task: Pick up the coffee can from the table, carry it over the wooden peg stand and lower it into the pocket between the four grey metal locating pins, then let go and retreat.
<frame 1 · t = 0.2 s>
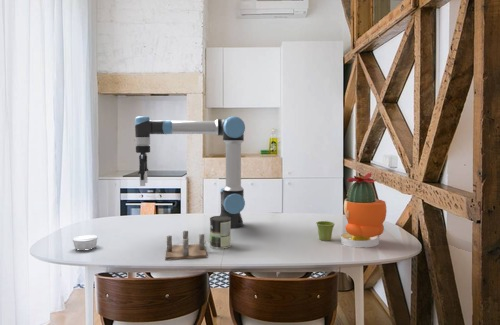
hand: (143, 184, 212), 28 cm above the table, tool pointing down, fingers open, 13 cm apart
coffee can: (220, 246, 193), on the table
wooden peg stand: (185, 252, 182), on the table
ramekin: (85, 248, 190), on the table
plant pot: (325, 239, 204), on the table
potted cactus: (364, 243, 197), on the table
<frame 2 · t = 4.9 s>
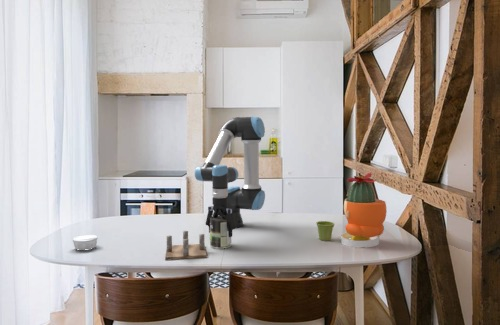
hand: (220, 241, 193), 2 cm above the table, tool pointing down, fingers closed on coffee can, 10 cm apart
coffee can: (220, 246, 193), on the table, touching gripper
everything else where it was.
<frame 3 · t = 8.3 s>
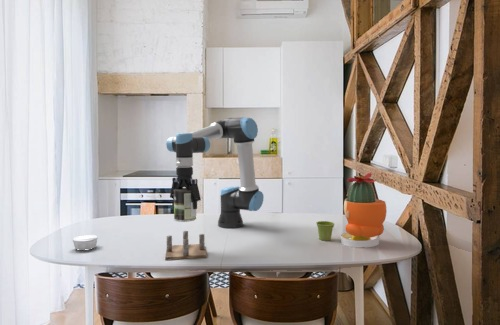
hand: (185, 214, 181), 18 cm above the table, tool pointing down, fingers closed on coffee can, 10 cm apart
coffee can: (185, 219, 181), point 16 cm above the table, touching gripper
everything else where it was.
when the fingers open (5 cm above the table, at t = 11.5 s): coffee can drops 1 cm, resting on wooden peg stand.
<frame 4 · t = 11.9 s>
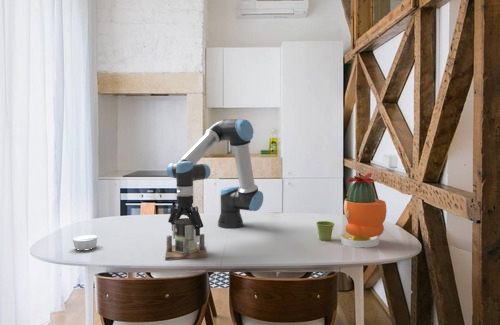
hand: (185, 240, 182), 6 cm above the table, tool pointing down, fingers open, 13 cm apart
coffee can: (186, 250, 182), point 1 cm above the table, touching wooden peg stand
everything else where it was.
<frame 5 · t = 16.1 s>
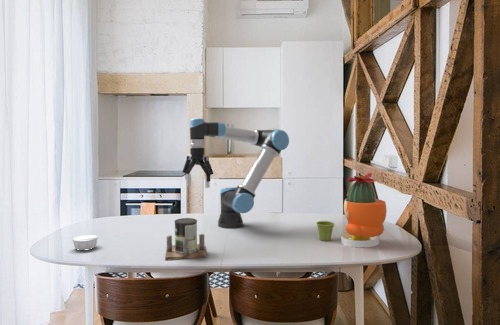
hand: (197, 186, 211), 27 cm above the table, tool pointing down, fingers open, 13 cm apart
nothing on the table moved.
at the end: coffee can 0.2 cm from the wooden peg stand (horizontally); coffee can tilted 0°; coffee can point 1.0 cm above the table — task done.
